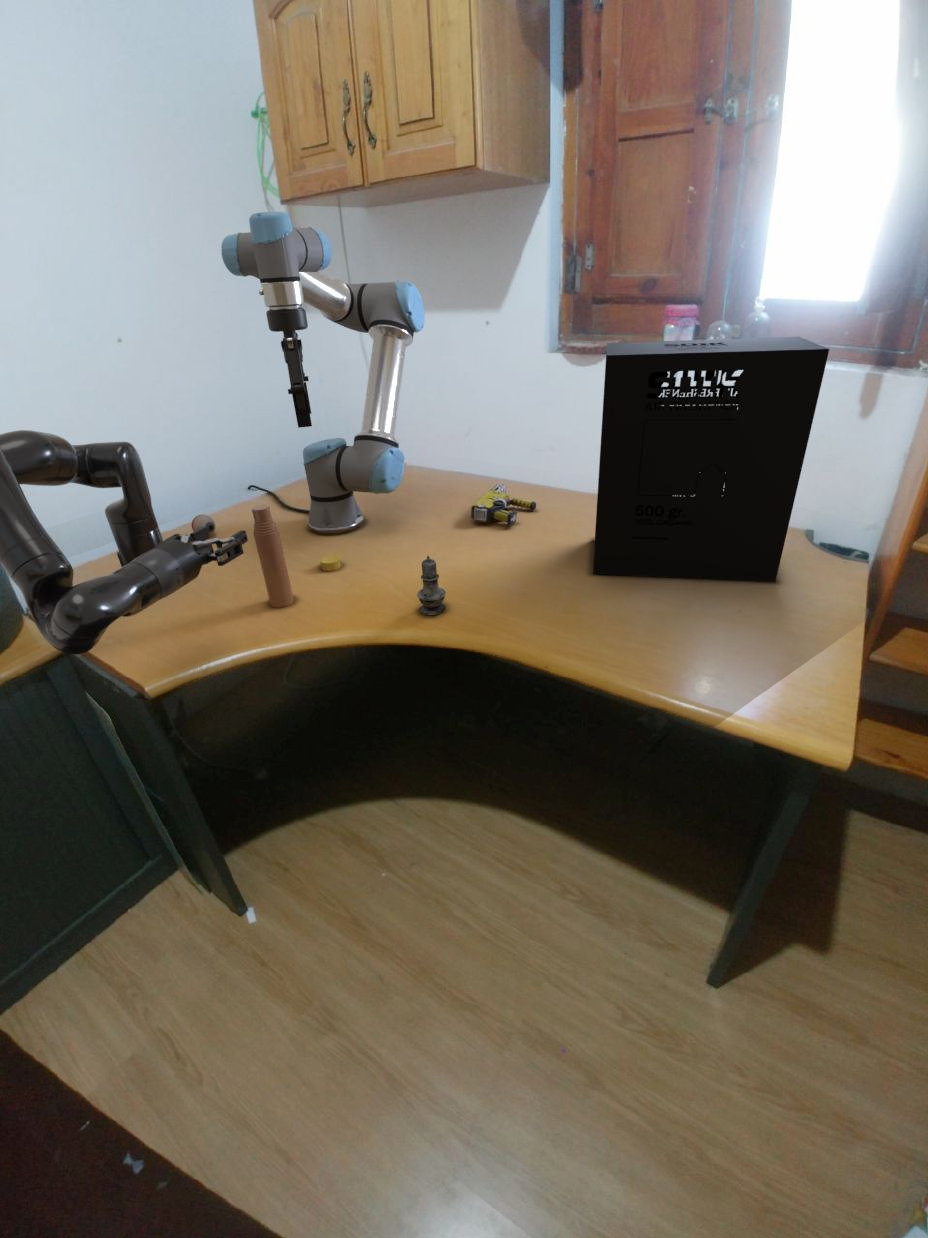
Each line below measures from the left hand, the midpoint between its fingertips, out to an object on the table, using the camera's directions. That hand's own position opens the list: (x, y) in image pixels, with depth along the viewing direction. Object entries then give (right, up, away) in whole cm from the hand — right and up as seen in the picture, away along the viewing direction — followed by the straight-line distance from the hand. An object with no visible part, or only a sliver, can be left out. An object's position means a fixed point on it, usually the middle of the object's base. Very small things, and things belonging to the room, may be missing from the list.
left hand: (225, 533), depth 111 cm
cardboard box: (+93, -2, +28) cm, 97 cm away
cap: (+12, -2, +33) cm, 35 cm away
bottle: (+5, -12, +20) cm, 23 cm away
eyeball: (-27, +7, +56) cm, 63 cm away
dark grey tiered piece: (+38, -14, +13) cm, 42 cm away
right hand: (+10, +26, +17) cm, 33 cm away
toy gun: (+57, +15, +60) cm, 84 cm away
